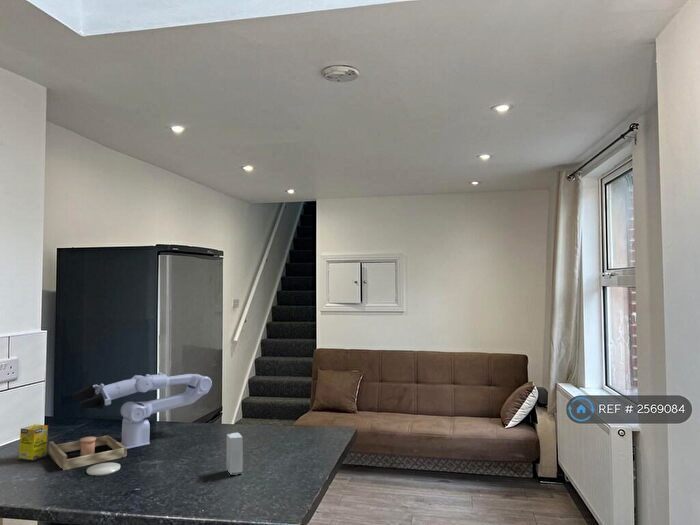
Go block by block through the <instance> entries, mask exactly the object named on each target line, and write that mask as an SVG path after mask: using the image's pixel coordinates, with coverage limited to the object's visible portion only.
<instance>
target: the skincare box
mask: <svg viewBox="0 0 700 525" xmlns="http://www.w3.org/2000/svg"><path fill="white" fill-rule="evenodd" d="M243 438H244V437H243V436H242V435H241V434H240V433H239V432H232V433H227V434H226V471H227V470H228V472H229V473H230V474H232V473H238V472H242V471H243V468H244V467H243V466H244V464H243V457H244V456H243V451H244V450H243V448H244V447H243V445H244V444H243ZM228 472H227V473H228ZM243 472H244V471H243ZM229 473H228V474H229Z"/></svg>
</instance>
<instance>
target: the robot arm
mask: <svg viewBox="0 0 700 525" xmlns="http://www.w3.org/2000/svg"><path fill="white" fill-rule="evenodd" d="M212 384H213V382H212V379H211V378H210V376H205V375H201V374H199V373H186V374H185V373H184V374H178V375H172V376H171V375H170V376H167V375H166V374H165V373H163V372H157V374H148V373H147V374H145V376H143V375H141V374H140V375H138V374H135V375H134V376H133V377H131V378H129V379H124V380H120V381H117V382H113V383H109V384H107V385H105V384H104V383H103V382H102V383H100V384H99V385H98V384H93V383H89V384H88V385H87V386H85V387H84V388H83V389H81V390H79V391H77V392H75V393H73V394H72V401H79V400H82V401H80V402H79V409H82V410H84V409H98V410H102V409H104V406H110V405H111V404H112V400H116V399H119V398H122V397H126V396H129V395H132V394H135V393H138V392H140V393H147V392H148V391H155V390H162V389H163V390H164V389H166V388H167V387H168V386H170V385H171V386H172V385H186V388H185V391H184V392H182V393H178V394H173V395H169V396H165V397H161V398H157V399H151V400H148V401H135V402H134V401H126V402H125V403H123V404H122V405H121V408H120V414H121V416H122V417H123V419H122V422H121V423H122V424H121V426H122V427H121V441H120V442H119V443H120V444H122V445H123V446H125V447H126V448H127V450H129V449H133V448H137V447H142V446H148V445H150V444H151V443H150V433H151V432H150V430H151V427H150V426H151V425H150V422H149V420H148V419H147V418H149V417H150V416H151V415H152V414H157V413H160V412H164V411H168V410H172V409H175V408H176V409H177V408H180V407H185V406H187V405H192V404H194V403H196V402H197V401H198V400H199V399H201V398H202V397H203V396H204V395H207V394H208V393H209V391H210V389H211V388H212V386H213V385H212ZM95 394H96V395H95Z"/></svg>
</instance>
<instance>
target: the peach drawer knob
mask: <svg viewBox="0 0 700 525" xmlns="http://www.w3.org/2000/svg"><path fill="white" fill-rule="evenodd" d="M96 437H97V436H85V437H82V438H80V439H79V441H80V442H81V449H80V456H79V457H81V456H86V455H91V454H96V451H95V448H96V446H95V441H96Z"/></svg>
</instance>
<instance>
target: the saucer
mask: <svg viewBox="0 0 700 525" xmlns="http://www.w3.org/2000/svg"><path fill="white" fill-rule="evenodd" d="M120 469H121V464H120V463H117V462H100V463H95V464H92V465H91V466H89V467H87V468H86V474H87V475H89V476H94V475H95V476H94V477H96V476H99V477H100V476H106V475H107V476H108V475H111V474H113V473H116V472H118V471H119V470H120Z"/></svg>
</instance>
